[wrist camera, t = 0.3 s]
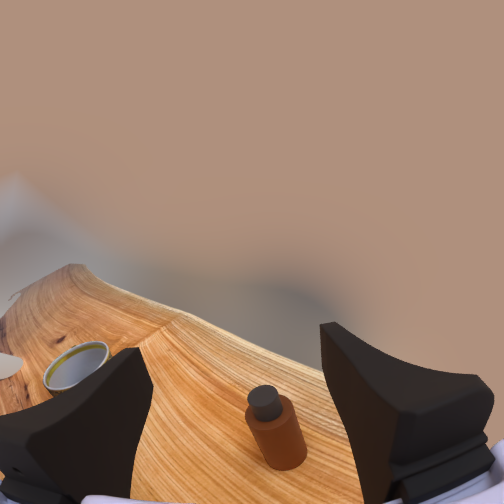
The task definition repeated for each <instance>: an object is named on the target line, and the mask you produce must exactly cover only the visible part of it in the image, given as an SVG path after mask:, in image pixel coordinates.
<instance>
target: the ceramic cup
mask: <svg viewBox="0 0 504 504" xmlns="http://www.w3.org/2000/svg"><path fill="white" fill-rule="evenodd" d="M111 358H112V355H111V352H110V350H109V347H108V346H107V344H105V343H104V342H101V341H91V342H86V343H82V344H80V345H77V346H76V345H75V346H73V347H72V348H71V349H69V350H67V351H66V352H64V353H63V354H61V355H60V356H59V357H57V358H56V359H55V360H54V361H53V362H52V363H51V364H50V365H49V367H48V368H47V370H46V372H45V374H44V376H43V384H44V386H45V388H46V389H47V390H48V391H49V392H50V394H51V395H52V396H53V397H55V396H57V395H59V394H61V393H63V392H65V391H66V390H68V389H70V388H71V387H73V386H74V385H76V384H77V383H79V382H80V381H82V380H83V379H84V378H86V377H87V376H89V375H90V374H91V373H93V372H94V371H95V370H97V369H98V368H99V367H100V366H102V365H103V364H104V363H106V362H107V361H108V360H110V359H111Z"/></svg>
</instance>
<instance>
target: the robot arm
mask: <svg viewBox="0 0 504 504" xmlns="http://www.w3.org/2000/svg"><path fill="white" fill-rule="evenodd" d="M320 339H321V357H322V369H323V372H324V376H325V380H326V383H327V387H328V389H329V392H330V394H331V397H332V399H333V401H334V404H335V406H336V408H337V411H338V413H339V415H340V418H341V420H342V422H343V425H344V427H345V430H346V432H347V435H348V438H349V442H350V445H351V449H352V453H353V456H354V460H355V464H356V468H357V472H358V476H359V481H360V485H361V489H362V494H363V499H364V504H504V439H502V440H501V441H499V442H498V443H496V444H495V445H494V446H493V447H492V448H491V449H490V450H489V449H488V447H487V445H486V444H485V443H486V442H487V441H488V437H487V436H486V434H485V433H484V432H483V430H484V427H485V425H486V423H487V421H488V419H489V416H490V414H491V412H492V408H493V405H494V394H493V392H492V391H491V389H490V388H489V387H488V386H487V385H486V384H485V383H484V382H483V381H482V380H481V379H480V377H478V376H477V375H473V374H458V373H457V374H456V373H448V372H442V371H437V370H432V369H427V368H423V367H420V366H417V365H413V364H410V363H407V362H404V361H402V360H399V359H397V358H394V357H392V356H390V355H388V354H385V353H383V352H382V351H380V350H378V349H376V348H374V347H372V346H371V345H369V344H367V343H366V342H364V341H362V340H361V339H359V338H358V337H356V336H355V335H353V334H352V333H350V332H349V331H347V330H346V329H345V328H343V327H342V326H340V325H339V324H338V323H336V322H331V323H325V324H320ZM153 387H154V386H153V383H152V381H151V378H150V376H149V373H148V371H147V368H146V365H145V363H144V360H143V357H142V355H141V352H140V349H139V347H135V348H125V349H123V350H122V351H120V352H119V353H117V354H116V355H115V356H113V357H112V358H111V359H110V360H108V361H107V362H106V363H104V364H103V365H102V366H100V367H99V368H98V369H97V370H95V371H94V372H93V373H91V374H90V375H89V376H87V377H86V378H84V379H83V380H82V381H80V382H79V383H77V384H76V385H74V386H73V387H71V388H70V389H68V390H66V391H65V392H63V393H61V394H59V395H57V396H55V397H53V398H51V399H49V400H47V401H45V402H43V403H40V404H38V405H36V406H33V407H30V408H28V409H25V410H21V411H18V412H15V413H11V414H6V415H1V416H0V471H1V472H2V473H3V474H4V475H5V478H4V479H3V481H2V480H0V504H194V503H170V502H155V501H144V500H134V499H130V489H131V480H132V472H133V466H134V460H135V454H136V450H137V447H138V443H139V440H140V437H141V434H142V431H143V428H144V425H145V422H146V419H147V415H148V412H149V409H150V406H151V400H152V394H153Z"/></svg>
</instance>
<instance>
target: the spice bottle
mask: <svg viewBox="0 0 504 504" xmlns="http://www.w3.org/2000/svg"><path fill="white" fill-rule="evenodd" d="M247 400H248V403H249V406H248V408H247V410H246V413H245V420H246V422H247V424H248V426H249V428H250V430H251V432H252V434H253V436H254V438H255V440H256V442H257V444H258V446H259V448H260V450H261V452H262V453H263V455H264V457H265V459H266V461H267V463H268V464H269V465H270V466H271V467H272V468H274V469H277V470H290V469H293V468H296V467H297V466H299V465H300V464H301V463H302V462H303V461H304V460H305V458H306V456H307V448H306V444H305V441H304V438H303V435H302V432H301V429H300V426H299V423H298V420H297V417H296V414H295V411H294V407H293V404H292V402H291V401H290V400H289V399H288V398H287V397H285V396H283V395H279V394H278V392H277V390H276V388H275V387H273V386H271V385H261V386H258V387H256V388H254V389H253V390H252V391H251V392H250V393H249V395H248V398H247Z"/></svg>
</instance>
